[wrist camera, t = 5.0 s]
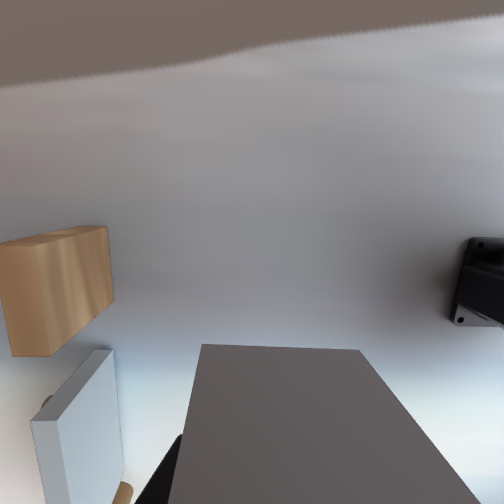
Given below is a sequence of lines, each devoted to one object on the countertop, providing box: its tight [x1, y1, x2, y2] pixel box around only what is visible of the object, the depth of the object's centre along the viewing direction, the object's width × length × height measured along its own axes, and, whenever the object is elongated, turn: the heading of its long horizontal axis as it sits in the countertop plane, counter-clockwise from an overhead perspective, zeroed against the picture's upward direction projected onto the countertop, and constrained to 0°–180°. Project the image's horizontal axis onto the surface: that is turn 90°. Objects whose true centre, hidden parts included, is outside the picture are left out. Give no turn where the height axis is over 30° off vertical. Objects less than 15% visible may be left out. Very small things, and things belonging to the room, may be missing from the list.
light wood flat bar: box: [0, 226, 133, 504], centre depth 15 cm, size 2×23×7 cm, turn 178°
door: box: [30, 350, 124, 504], centre depth 16 cm, size 2×11×6 cm, turn 177°
